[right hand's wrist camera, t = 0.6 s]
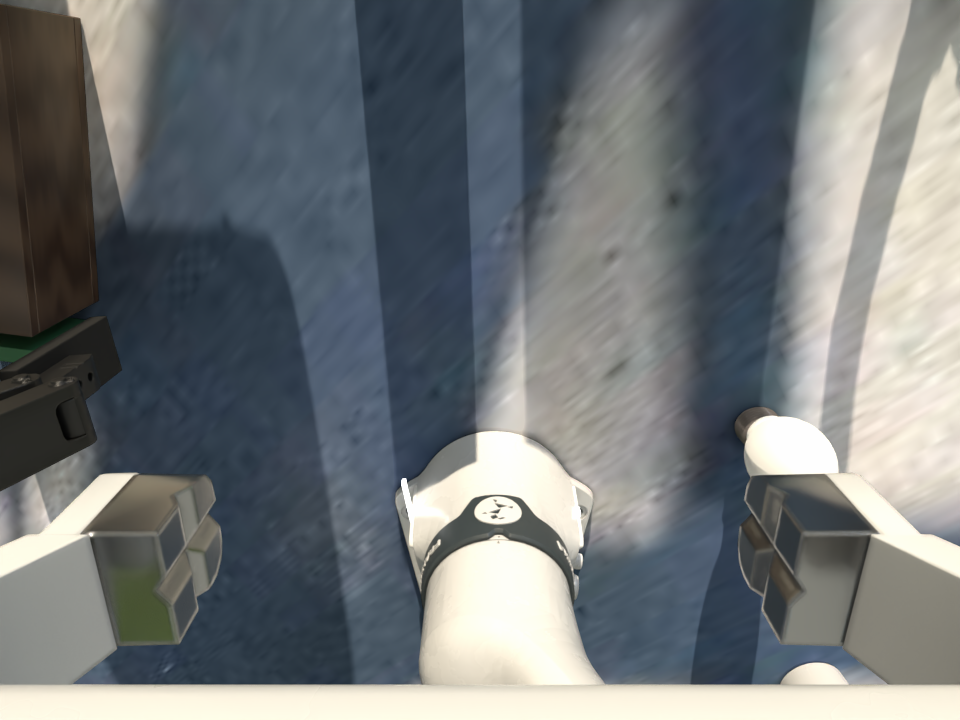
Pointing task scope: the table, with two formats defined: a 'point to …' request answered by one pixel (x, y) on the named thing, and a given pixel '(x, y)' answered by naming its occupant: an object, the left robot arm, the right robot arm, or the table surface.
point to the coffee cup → (814, 675)
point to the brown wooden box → (43, 173)
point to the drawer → (31, 340)
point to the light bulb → (783, 445)
